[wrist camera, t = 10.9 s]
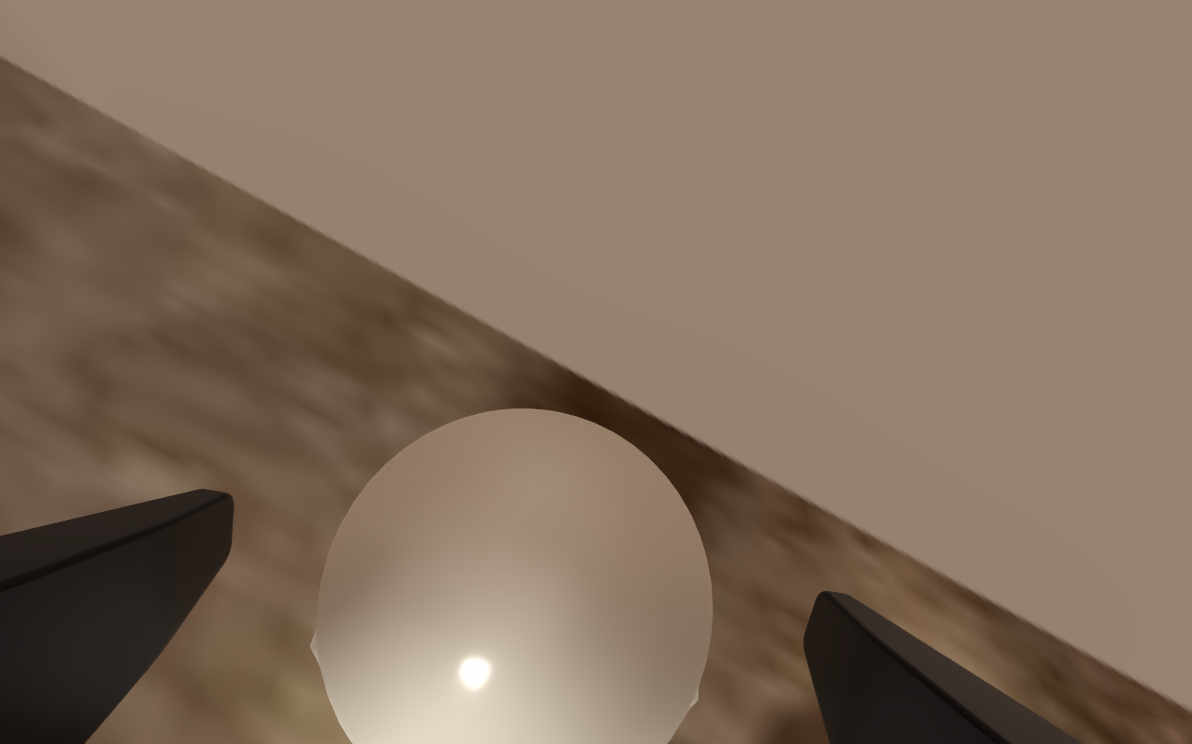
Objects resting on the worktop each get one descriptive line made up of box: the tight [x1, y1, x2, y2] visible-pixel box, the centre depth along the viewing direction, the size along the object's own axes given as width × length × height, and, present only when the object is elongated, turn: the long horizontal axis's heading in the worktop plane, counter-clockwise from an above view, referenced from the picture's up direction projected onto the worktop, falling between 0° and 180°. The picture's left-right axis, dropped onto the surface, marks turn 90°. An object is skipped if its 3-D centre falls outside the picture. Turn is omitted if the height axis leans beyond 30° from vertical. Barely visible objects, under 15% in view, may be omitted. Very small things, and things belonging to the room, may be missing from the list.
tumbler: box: [310, 409, 713, 744], centre depth 15 cm, size 7×7×10 cm
